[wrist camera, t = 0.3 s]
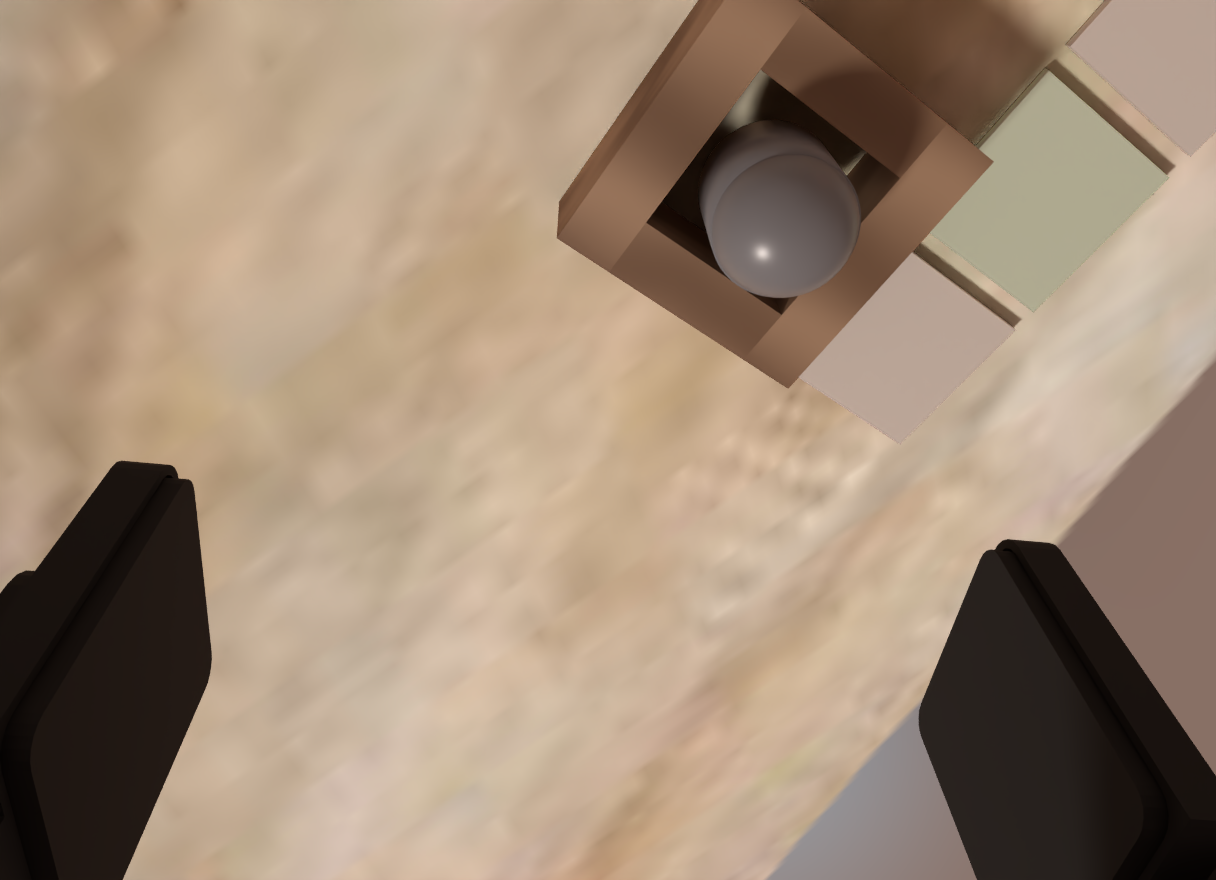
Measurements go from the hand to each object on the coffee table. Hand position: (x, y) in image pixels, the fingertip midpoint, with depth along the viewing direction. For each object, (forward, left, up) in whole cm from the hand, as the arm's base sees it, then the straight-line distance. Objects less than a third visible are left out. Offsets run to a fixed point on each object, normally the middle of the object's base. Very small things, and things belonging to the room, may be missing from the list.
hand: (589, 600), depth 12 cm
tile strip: (-6, +17, -29) cm, 34 cm away
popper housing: (-1, +7, -29) cm, 30 cm away
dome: (-1, +7, -26) cm, 27 cm away
